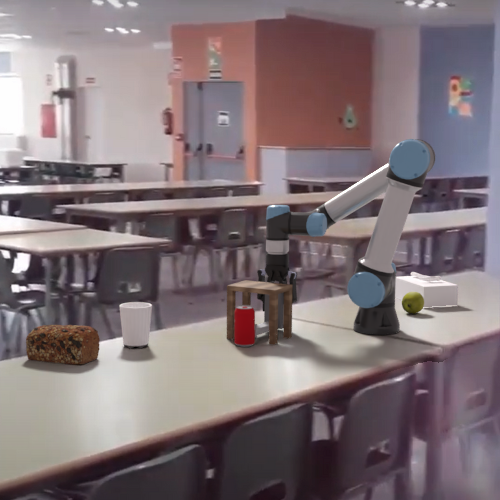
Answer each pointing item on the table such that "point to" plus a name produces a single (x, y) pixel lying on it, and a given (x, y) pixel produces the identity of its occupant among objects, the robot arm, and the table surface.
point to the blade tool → (265, 326)
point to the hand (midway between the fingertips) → (276, 322)
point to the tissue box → (427, 289)
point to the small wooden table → (273, 292)
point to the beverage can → (244, 326)
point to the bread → (63, 344)
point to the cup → (135, 323)
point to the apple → (413, 302)
